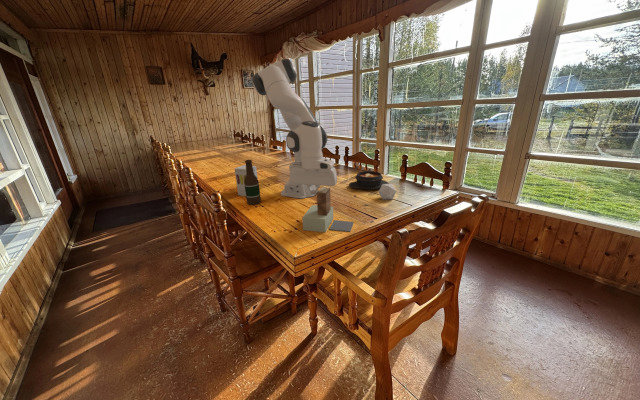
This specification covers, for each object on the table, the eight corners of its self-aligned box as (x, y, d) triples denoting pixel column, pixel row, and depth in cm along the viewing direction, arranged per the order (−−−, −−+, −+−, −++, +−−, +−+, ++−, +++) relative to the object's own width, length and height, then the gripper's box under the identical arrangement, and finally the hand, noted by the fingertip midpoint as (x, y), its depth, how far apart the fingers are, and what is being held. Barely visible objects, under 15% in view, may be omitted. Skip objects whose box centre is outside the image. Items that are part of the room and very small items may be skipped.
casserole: (353, 193, 151) (353, 179, 148) (345, 184, 169) (345, 171, 166) (393, 189, 155) (394, 176, 152) (381, 181, 172) (382, 168, 169)
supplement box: (237, 195, 155) (233, 168, 149) (247, 190, 163) (243, 164, 157) (250, 197, 152) (246, 169, 146) (259, 192, 160) (256, 165, 154)
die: (392, 203, 136) (401, 187, 136) (377, 195, 136) (386, 179, 136) (387, 203, 144) (396, 188, 144) (374, 195, 144) (382, 180, 144)
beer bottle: (248, 200, 146) (242, 159, 138) (262, 199, 147) (256, 158, 138) (245, 205, 139) (239, 162, 131) (260, 204, 140) (254, 161, 131)
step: (303, 229, 110) (302, 217, 108) (313, 216, 123) (312, 205, 121) (325, 232, 108) (325, 219, 105) (333, 218, 120) (333, 206, 118)
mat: (329, 229, 110) (329, 229, 109) (334, 220, 118) (334, 220, 117) (350, 232, 107) (350, 231, 107) (353, 222, 115) (353, 221, 115)
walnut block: (317, 214, 110) (316, 192, 106) (322, 208, 116) (321, 187, 112) (326, 215, 109) (326, 193, 105) (330, 209, 115) (330, 187, 111)
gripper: (285, 163, 106) (288, 195, 111) (334, 165, 100) (334, 198, 105) (291, 160, 111) (294, 190, 116) (337, 161, 105) (338, 193, 110)
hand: (313, 194), depth 110 cm, fingers closed
